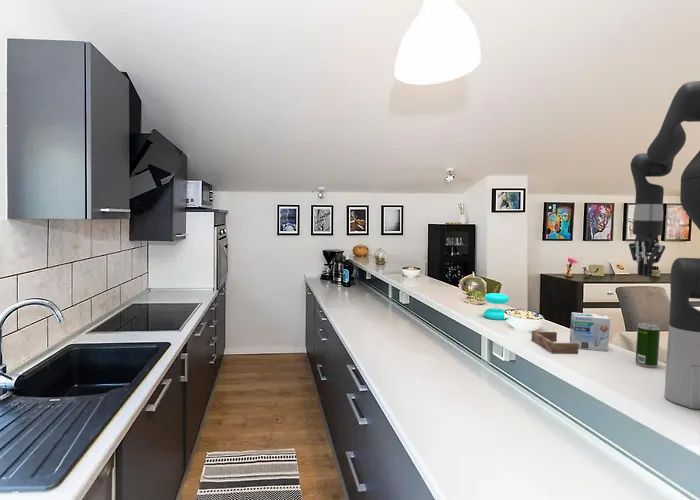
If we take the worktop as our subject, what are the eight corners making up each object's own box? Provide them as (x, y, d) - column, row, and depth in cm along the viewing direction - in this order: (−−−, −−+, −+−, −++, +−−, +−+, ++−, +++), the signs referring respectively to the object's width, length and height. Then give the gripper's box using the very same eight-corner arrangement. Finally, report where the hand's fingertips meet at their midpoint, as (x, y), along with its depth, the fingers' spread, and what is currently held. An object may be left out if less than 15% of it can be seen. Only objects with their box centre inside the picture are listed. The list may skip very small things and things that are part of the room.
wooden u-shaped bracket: (578, 353, 139) (578, 344, 139) (552, 353, 139) (552, 343, 139) (554, 340, 154) (555, 331, 154) (531, 340, 154) (531, 331, 154)
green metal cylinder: (652, 369, 125) (655, 327, 124) (631, 364, 130) (634, 323, 129) (660, 366, 128) (663, 325, 127) (640, 361, 133) (643, 321, 132)
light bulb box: (572, 348, 145) (574, 315, 144) (568, 343, 151) (570, 311, 151) (609, 351, 142) (611, 318, 141) (603, 346, 148) (605, 314, 148)
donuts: (486, 296, 184) (482, 292, 194) (485, 319, 185) (482, 314, 195) (511, 297, 183) (506, 293, 193) (510, 321, 184) (505, 315, 194)
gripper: (677, 219, 128) (673, 279, 129) (644, 219, 142) (641, 273, 143) (651, 219, 128) (647, 278, 129) (621, 219, 142) (618, 273, 143)
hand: (644, 275), depth 136 cm, fingers closed
